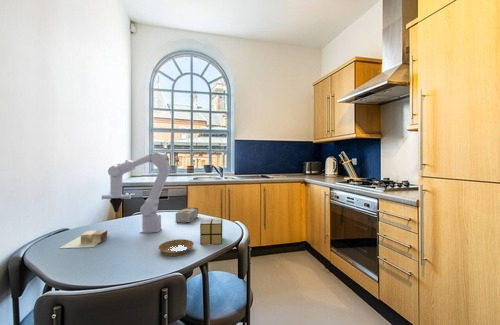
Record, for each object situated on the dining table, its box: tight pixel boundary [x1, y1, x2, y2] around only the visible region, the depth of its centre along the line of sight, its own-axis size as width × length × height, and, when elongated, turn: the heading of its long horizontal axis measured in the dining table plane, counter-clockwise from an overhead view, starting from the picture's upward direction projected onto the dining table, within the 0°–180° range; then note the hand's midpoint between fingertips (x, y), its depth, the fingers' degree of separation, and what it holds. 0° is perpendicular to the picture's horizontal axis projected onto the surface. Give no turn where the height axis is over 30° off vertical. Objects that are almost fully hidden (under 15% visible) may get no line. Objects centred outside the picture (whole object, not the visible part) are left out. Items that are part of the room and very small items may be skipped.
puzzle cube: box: [199, 217, 223, 246], centre depth 113 cm, size 10×10×10 cm
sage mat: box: [58, 234, 111, 250], centre depth 111 cm, size 14×16×1 cm
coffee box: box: [174, 207, 199, 223], centre depth 151 cm, size 9×6×16 cm
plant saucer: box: [158, 238, 195, 257], centre depth 101 cm, size 15×15×3 cm
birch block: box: [80, 229, 108, 244], centre depth 112 cm, size 4×6×9 cm
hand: (116, 211), depth 128 cm, fingers closed
